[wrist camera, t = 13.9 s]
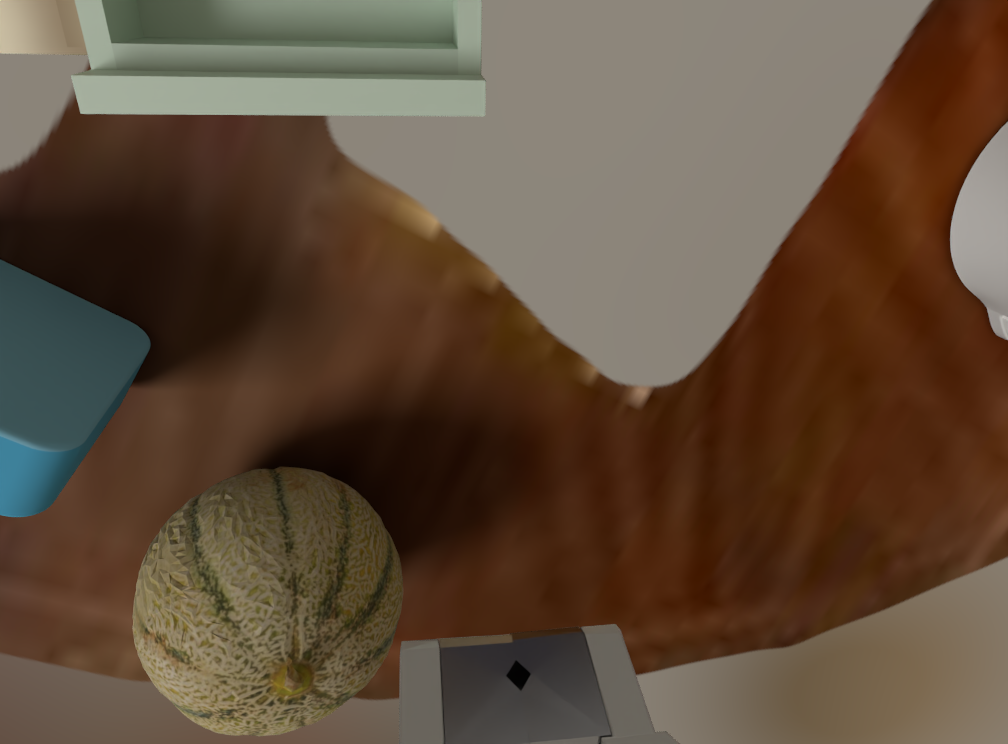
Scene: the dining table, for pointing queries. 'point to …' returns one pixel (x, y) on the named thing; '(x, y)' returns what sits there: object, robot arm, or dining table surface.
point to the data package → (55, 384)
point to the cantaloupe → (267, 601)
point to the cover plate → (40, 27)
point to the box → (282, 57)
